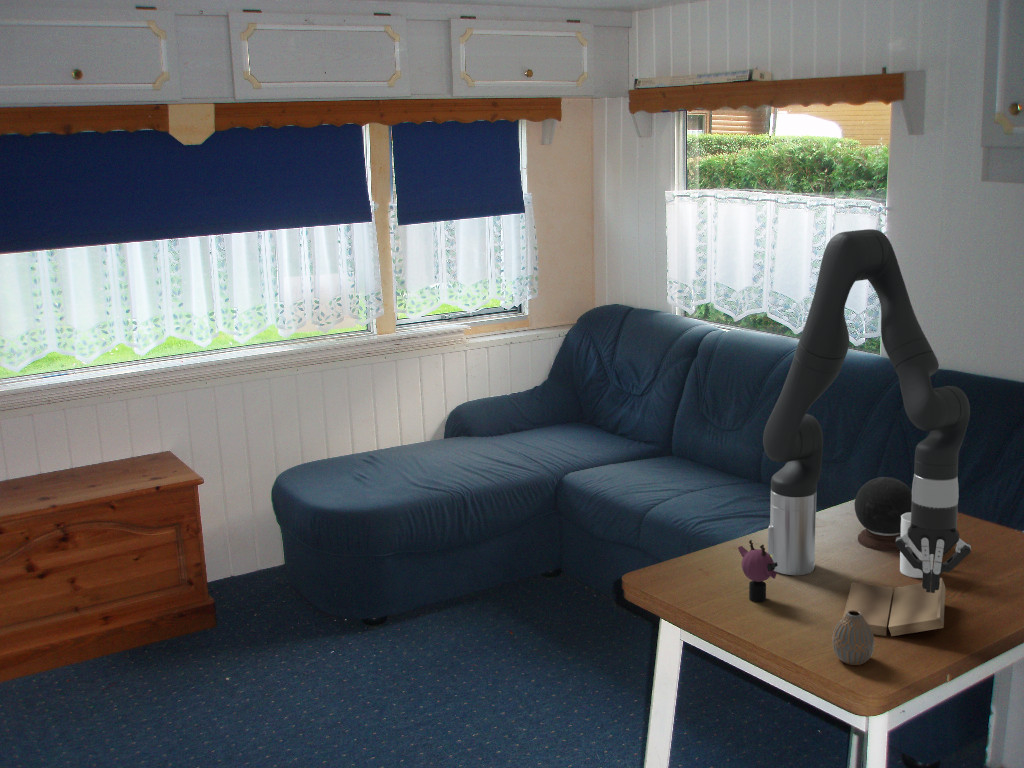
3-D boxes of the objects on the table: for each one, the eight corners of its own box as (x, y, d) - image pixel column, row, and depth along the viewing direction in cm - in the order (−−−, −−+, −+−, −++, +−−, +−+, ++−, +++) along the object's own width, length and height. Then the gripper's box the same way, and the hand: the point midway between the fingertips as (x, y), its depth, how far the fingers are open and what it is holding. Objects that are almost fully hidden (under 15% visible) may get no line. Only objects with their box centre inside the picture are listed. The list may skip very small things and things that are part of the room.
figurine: (776, 609, 192) (777, 551, 190) (734, 605, 195) (735, 548, 192) (778, 592, 200) (779, 536, 197) (737, 588, 202) (738, 533, 200)
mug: (923, 581, 202) (926, 526, 199) (892, 572, 207) (894, 518, 204) (946, 567, 208) (949, 513, 206) (915, 558, 213) (918, 506, 211)
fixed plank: (841, 629, 183) (842, 620, 183) (851, 590, 199) (852, 582, 199) (886, 635, 180) (886, 626, 180) (892, 595, 196) (893, 587, 196)
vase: (880, 668, 169) (882, 620, 167) (841, 671, 169) (842, 623, 167) (863, 648, 176) (865, 602, 174) (825, 651, 175) (826, 605, 173)
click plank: (891, 636, 180) (887, 625, 180) (897, 596, 196) (894, 586, 195) (943, 627, 176) (939, 617, 175) (945, 587, 192) (942, 577, 191)
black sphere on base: (846, 547, 221) (849, 482, 218) (860, 527, 232) (863, 466, 229) (909, 557, 214) (912, 491, 211) (920, 536, 225) (923, 473, 222)
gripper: (893, 502, 174) (890, 594, 178) (976, 509, 169) (971, 604, 172) (895, 489, 181) (892, 578, 184) (975, 495, 175) (971, 587, 179)
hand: (930, 591), depth 178 cm, fingers closed
